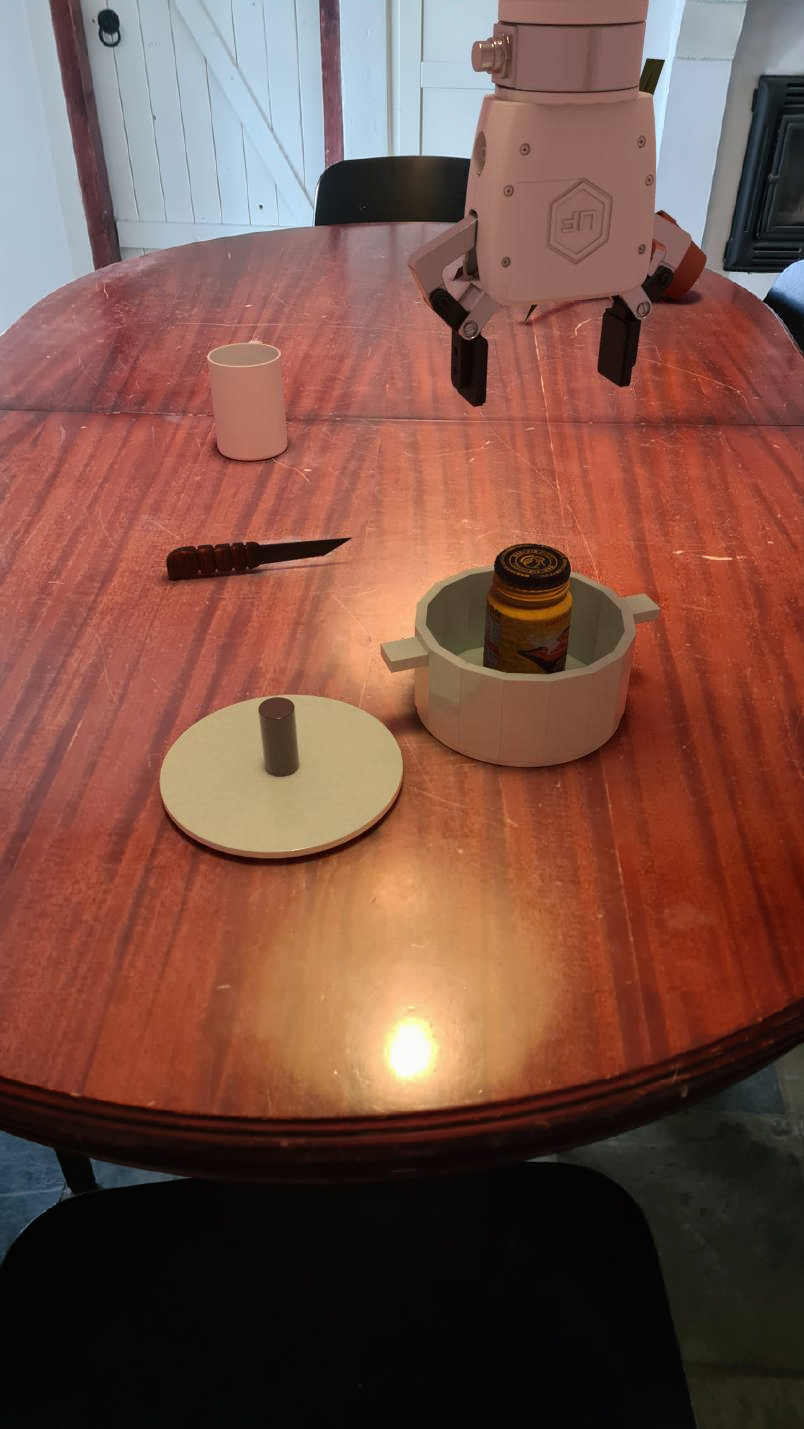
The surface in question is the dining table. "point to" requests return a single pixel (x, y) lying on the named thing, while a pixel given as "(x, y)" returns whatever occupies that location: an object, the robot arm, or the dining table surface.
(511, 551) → the condiment
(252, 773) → the lid
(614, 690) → the pot
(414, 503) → the dining table surface
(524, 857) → the dining table surface
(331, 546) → the knife
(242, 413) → the mug
